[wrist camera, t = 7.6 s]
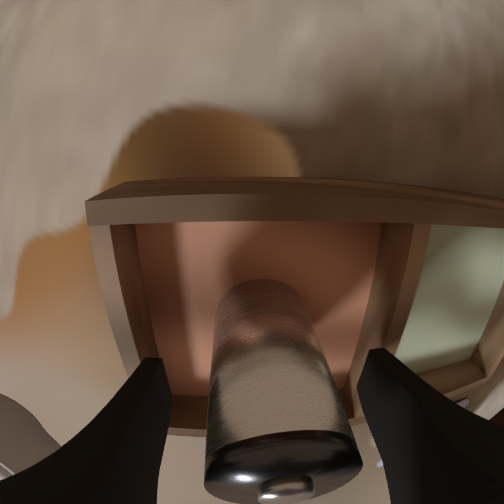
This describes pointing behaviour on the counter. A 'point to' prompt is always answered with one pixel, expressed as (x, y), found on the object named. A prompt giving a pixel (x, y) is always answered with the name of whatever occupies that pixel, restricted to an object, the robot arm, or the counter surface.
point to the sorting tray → (303, 275)
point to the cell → (273, 403)
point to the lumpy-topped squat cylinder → (21, 439)
